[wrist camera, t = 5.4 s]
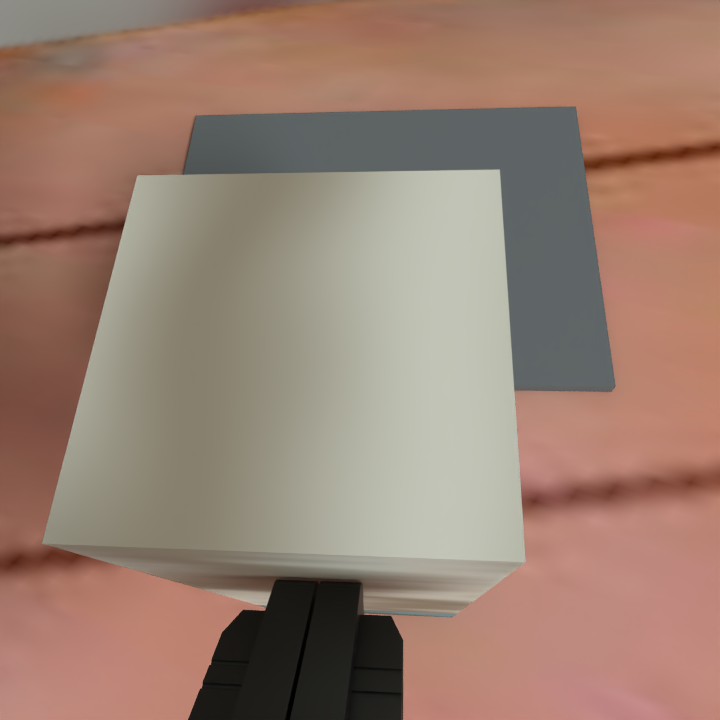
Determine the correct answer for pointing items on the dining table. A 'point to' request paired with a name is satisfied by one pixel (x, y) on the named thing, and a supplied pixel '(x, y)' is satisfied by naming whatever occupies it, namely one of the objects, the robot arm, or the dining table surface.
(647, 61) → the dining table surface
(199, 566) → the block
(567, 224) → the mat
